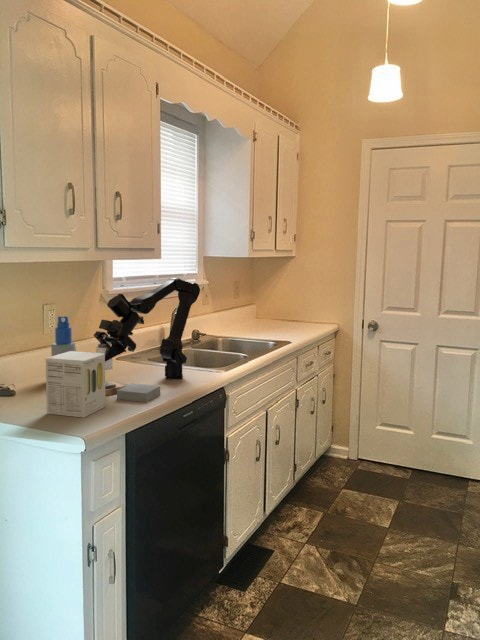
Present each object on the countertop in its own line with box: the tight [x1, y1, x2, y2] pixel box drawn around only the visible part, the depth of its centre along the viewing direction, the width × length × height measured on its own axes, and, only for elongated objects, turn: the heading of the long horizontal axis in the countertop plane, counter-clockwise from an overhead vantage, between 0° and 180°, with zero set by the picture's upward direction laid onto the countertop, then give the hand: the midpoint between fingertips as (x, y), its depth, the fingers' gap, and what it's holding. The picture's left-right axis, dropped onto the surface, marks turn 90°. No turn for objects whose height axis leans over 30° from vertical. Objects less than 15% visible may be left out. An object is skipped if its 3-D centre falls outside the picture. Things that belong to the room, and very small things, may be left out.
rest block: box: [116, 382, 161, 403], centre depth 185 cm, size 11×11×3 cm
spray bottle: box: [50, 315, 77, 357], centre depth 205 cm, size 9×9×25 cm
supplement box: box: [45, 350, 106, 419], centre depth 167 cm, size 13×13×18 cm
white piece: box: [95, 343, 114, 372], centre depth 188 cm, size 4×4×9 cm
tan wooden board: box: [105, 380, 129, 397], centre depth 191 cm, size 12×8×3 cm, turn 139°
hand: (100, 359), depth 187 cm, fingers closed on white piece, 4 cm apart
